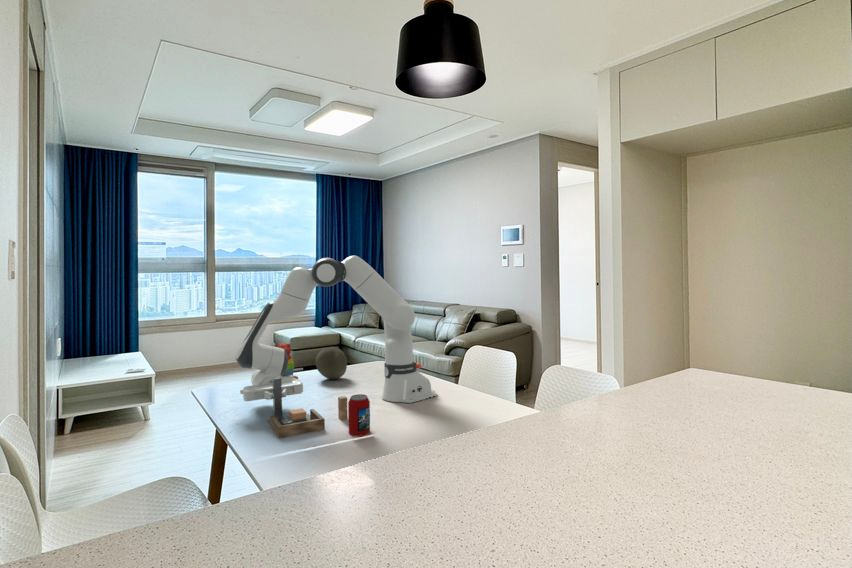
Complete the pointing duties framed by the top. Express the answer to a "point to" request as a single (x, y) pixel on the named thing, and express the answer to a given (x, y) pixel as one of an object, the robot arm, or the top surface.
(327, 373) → the cantaloupe
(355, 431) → the beverage can
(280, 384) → the hook tool
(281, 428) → the wooden tray
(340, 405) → the plain rod
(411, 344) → the robot arm
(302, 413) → the block
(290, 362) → the stacking bear
